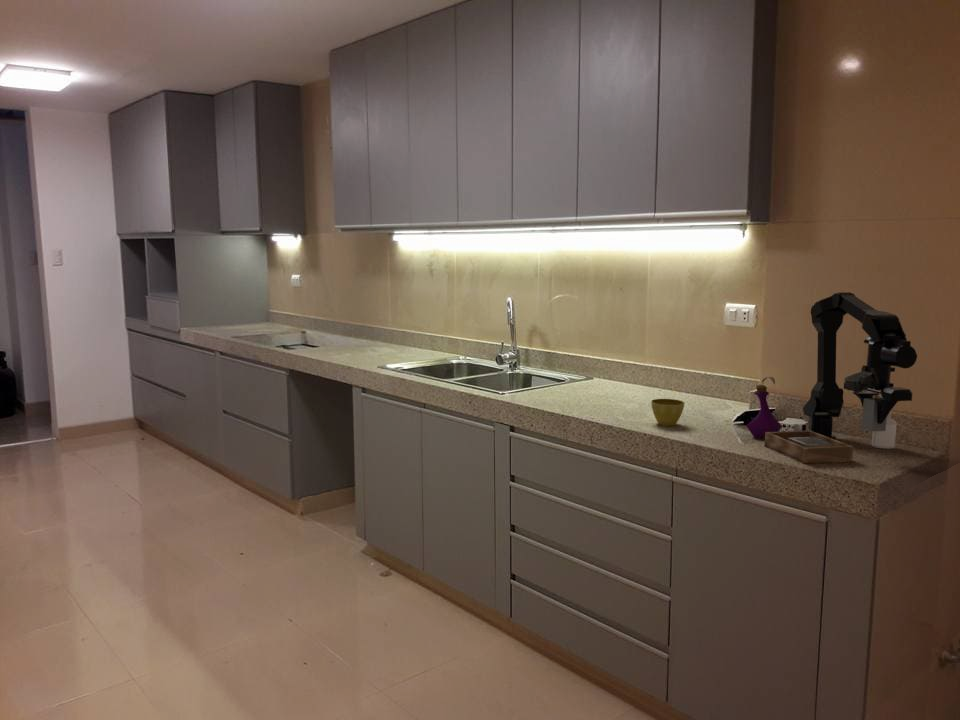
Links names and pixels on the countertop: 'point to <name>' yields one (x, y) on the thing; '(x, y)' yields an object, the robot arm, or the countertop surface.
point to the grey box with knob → (871, 415)
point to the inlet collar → (810, 442)
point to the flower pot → (667, 411)
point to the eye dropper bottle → (885, 435)
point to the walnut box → (808, 455)
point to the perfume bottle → (763, 415)
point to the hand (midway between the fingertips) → (874, 421)
